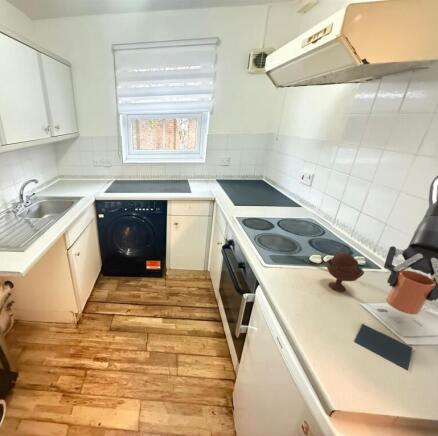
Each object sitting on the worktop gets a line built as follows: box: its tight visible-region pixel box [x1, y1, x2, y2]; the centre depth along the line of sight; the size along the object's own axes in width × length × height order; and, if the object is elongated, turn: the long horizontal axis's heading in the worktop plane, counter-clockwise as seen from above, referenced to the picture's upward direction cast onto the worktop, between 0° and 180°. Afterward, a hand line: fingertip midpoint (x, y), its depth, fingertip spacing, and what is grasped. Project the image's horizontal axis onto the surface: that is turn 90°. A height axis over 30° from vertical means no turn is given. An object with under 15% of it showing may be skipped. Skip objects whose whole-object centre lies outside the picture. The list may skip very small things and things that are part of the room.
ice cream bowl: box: [325, 252, 365, 293], centre depth 88 cm, size 11×11×15 cm
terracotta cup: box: [385, 270, 436, 315], centre depth 61 cm, size 6×6×9 cm
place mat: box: [353, 323, 413, 371], centre depth 68 cm, size 11×10×1 cm
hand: (410, 292), depth 60 cm, fingers closed on terracotta cup, 6 cm apart
